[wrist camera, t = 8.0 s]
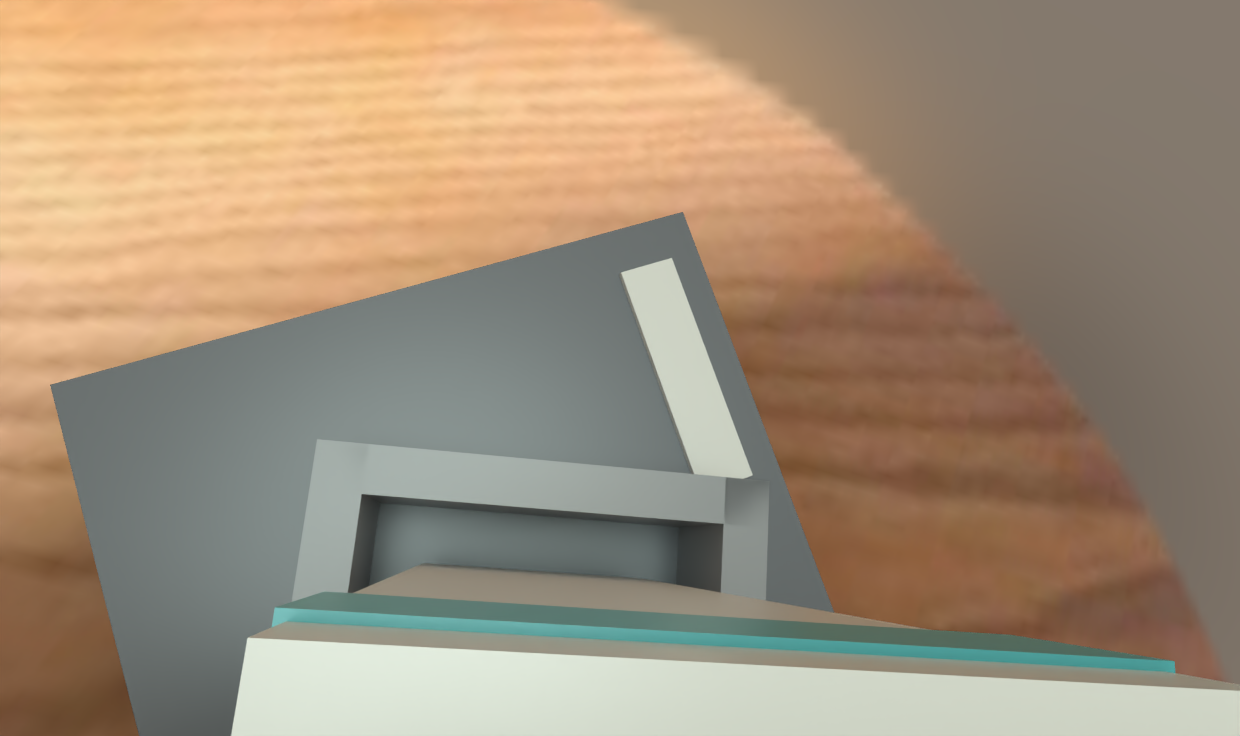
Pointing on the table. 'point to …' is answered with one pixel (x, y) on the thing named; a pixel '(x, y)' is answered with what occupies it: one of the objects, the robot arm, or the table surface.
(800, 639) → the plug
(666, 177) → the table surface
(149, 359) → the port panel
